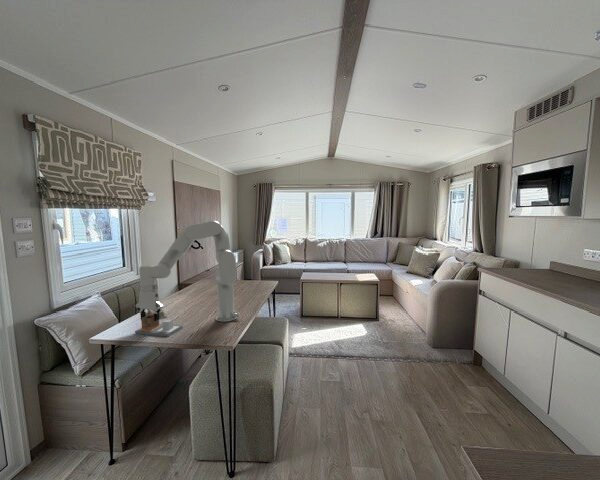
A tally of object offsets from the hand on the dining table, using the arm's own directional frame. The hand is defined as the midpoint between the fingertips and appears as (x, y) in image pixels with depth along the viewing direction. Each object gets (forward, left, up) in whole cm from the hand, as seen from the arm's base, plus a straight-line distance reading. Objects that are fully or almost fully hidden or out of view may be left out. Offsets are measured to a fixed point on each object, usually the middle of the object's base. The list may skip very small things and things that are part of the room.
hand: (150, 319), depth 160 cm
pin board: (-5, 0, -6) cm, 8 cm away
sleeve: (0, 0, -4) cm, 4 cm away
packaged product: (+15, -23, -7) cm, 28 cm away
